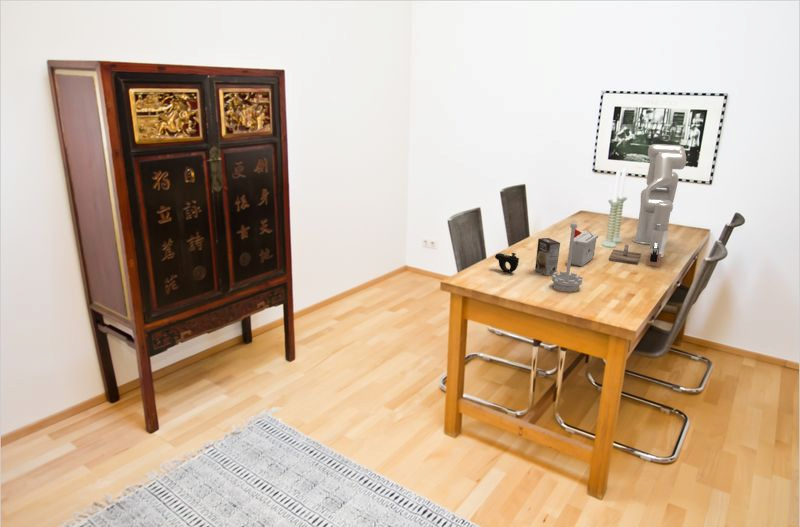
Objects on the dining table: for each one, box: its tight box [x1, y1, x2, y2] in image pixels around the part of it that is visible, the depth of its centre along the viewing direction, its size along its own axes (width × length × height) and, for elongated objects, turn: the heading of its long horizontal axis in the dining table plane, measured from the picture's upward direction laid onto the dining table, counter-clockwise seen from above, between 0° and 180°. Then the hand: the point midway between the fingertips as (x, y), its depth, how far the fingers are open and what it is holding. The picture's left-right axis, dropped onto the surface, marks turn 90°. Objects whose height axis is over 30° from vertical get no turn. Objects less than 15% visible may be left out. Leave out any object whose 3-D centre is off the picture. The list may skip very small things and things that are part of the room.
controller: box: [494, 252, 520, 274], centre depth 266 cm, size 4×12×10 cm, turn 46°
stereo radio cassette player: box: [571, 227, 599, 267], centre depth 283 cm, size 21×8×20 cm, turn 145°
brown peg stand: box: [608, 244, 642, 266], centre depth 292 cm, size 18×14×8 cm
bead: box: [645, 252, 661, 267], centre depth 284 cm, size 6×6×5 cm
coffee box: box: [534, 237, 561, 277], centre depth 265 cm, size 9×6×16 cm
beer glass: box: [659, 228, 670, 258], centre depth 296 cm, size 7×7×15 cm
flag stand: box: [551, 222, 584, 293], centre depth 244 cm, size 13×13×30 cm
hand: (653, 259), depth 283 cm, fingers open, 9 cm apart
